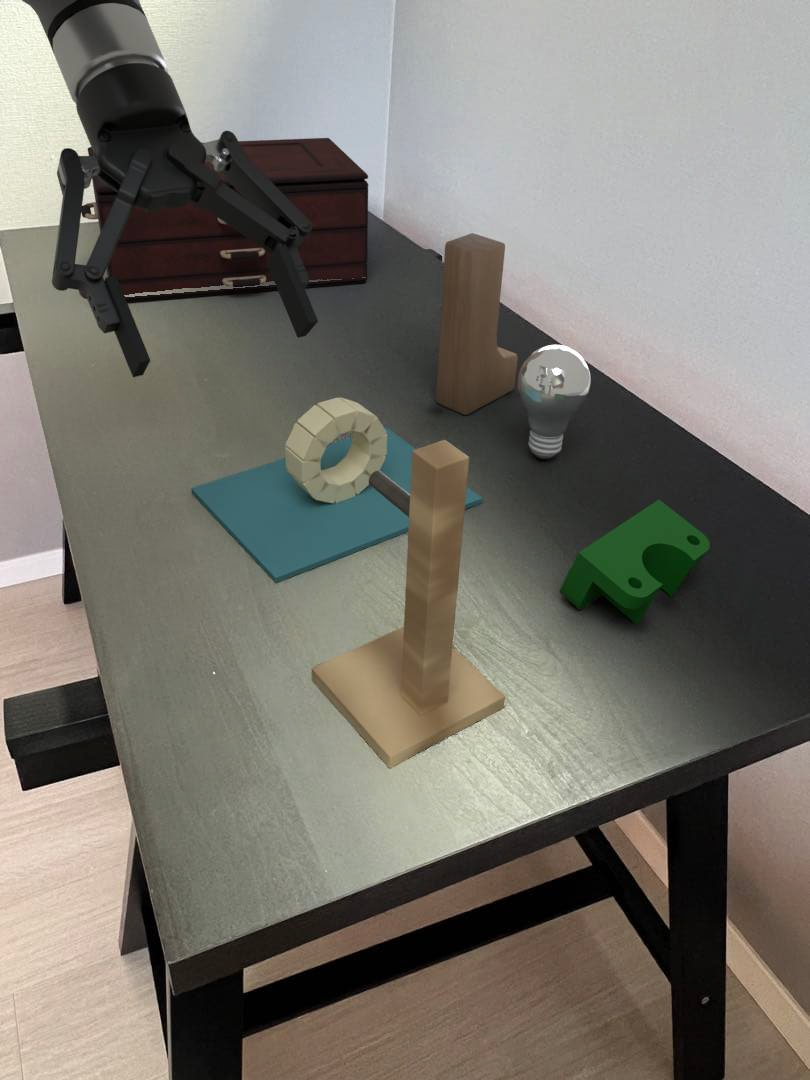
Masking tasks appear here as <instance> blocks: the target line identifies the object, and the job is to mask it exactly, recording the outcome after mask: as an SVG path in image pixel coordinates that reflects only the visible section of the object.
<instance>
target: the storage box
mask: <svg viewBox="0 0 810 1080" xmlns="http://www.w3.org/2000/svg"><path fill="white" fill-rule="evenodd" d="M238 142H239V143H240V145H241V147H242V149H243V151H244V153H245V155H246V156H247V157H248V158H249V159H250V160H251V161H252V162H253V163H254V164H255V165H256V166H257V167H258V168H259V169H260V170H261V171H262V172H263V173H264V174H265V176H266V177H267V178H268V179H269V180H270V181H271V182H272V183H273V184H274V185H275V186H276V187H277V188H278V189H279V190H280V191H281V192H282V193H283V194H284V195H285V196H286V197H287V198H288V199H289V200H290V201H291V202H292V203H293V204H294V205H295V206H296V207H297V208H298V210H299V211H300V212H301V213H302V214H303V215H304V216H305V217H306V218H307V219H308V220H309V221H310V222H311V224H312V230H311V231H310V233H309V234H308V236H307V237H306V239H305V240H304V242H303V243H302V244H301V246H300V247H297V249H298V252H299V254H300V256H301V259H302V261H303V264H304V266H305V268H306V271H307V273H308V276H309V280H317V279H318V280H319V279H320V280H321V279H322V280H327V279H329V280H330V279H342V280H330V281H318V282H309V284H308V285H307V287H306V288H307V289H308V288H309V289H311V288H320V287H334V286H344V285H346V286H347V285H358V284H365V283H367V280H368V237H369V233H368V231H369V229H368V227H369V183H368V181H367V180H368V179H369V175H368V174H367V172H366V171H364V170H363V169H362V168H361V167H360V166H359V165H358V164H357V163H356V162H355V161H354V160H353V158H351V157H350V156H349V155H348V154H347V153H346V152H345V151H343V150H342V148H340V147H339V146H338V145H337V144H336V143H335V142H334V141H333V140H332V139H330V138H329V137H312V138H311V137H310V138H286V139H262V140H261V139H259V140H238ZM87 154H88V156H95V153H94V151H93V149H92V147H91V146H89V147H88V148H87ZM204 165H205V166H207V167H208V168H209V169H211V170H212V171H214V172H215V173H217V174H218V175H219V176H220V177H221V179H222V182H223V183H224V184H225V185H227V186H228V187H230V188H231V189H232V190H234V191H235V192H237V193H238V194H240V193H239V192H238V191H237V190H236V189H235V188H234V187H233V186H232V185H231V184H230V182H229V181H228V180H227V179H226V177H225V176H224V175H223V173H222V171H221V172H217V171H215V169H214V167H215V166H214V165H213V164H211V163H210V162H205V163H204ZM91 182H92V187H93V194H94V195H93V196H94V200H95V201H92V202H87V203H85V204H82V210H81V217H83V218H84V219H88V220H98V226H99V234H100V233H101V230H102V228H103V226H104V224H105V221H106V219H107V217H108V214H109V212H110V210H111V207H112V205H113V203H114V201H115V198H116V196H117V192H116V191H115V190H113V189H112V188H111V187H110V186H108V185H107V184H106V183H104V182H103V181H102V180H100V179H99V177H98V176H97V175H95V176H93V177H92V180H91ZM197 188H198V189H200V190H201V191H204V189H205V187H204V186H203V185H202V184H201V183H200V182H199V184H198V187H197ZM240 195H241V194H240ZM241 196H242V195H241ZM242 197H243V196H242ZM92 208H93V212H94V214H93V213H92V210H91V209H92ZM271 255H272V254H270V253H269V252H267V251H266V250H265V249H263V248H262V247H260V246H259V245H257V244H256V243H254V242H253V241H251V240H250V239H248V238H247V237H246V236H244V235H243V234H241V233H240V232H238V231H237V230H235V229H234V228H232V227H231V226H229V225H228V224H227V223H225V222H224V221H222V220H221V219H219V218H218V217H216V216H215V215H213V214H212V213H210V212H209V211H201V210H200V209H198V208H197V207H195V206H194V205H192V204H191V203H189V202H188V203H186V205H185V207H180V208H169V207H164V208H162V209H159V210H157V211H153V212H146V210H145V209H141V208H138V207H136V206H135V205H134V206H133V208H132V210H131V213H130V215H129V218H128V220H127V222H126V224H125V226H124V229H123V231H122V233H121V236H120V238H119V240H118V243H117V245H116V247H115V250H114V252H113V254H112V257H111V259H110V261H109V264H108V266H107V269H106V275H107V277H111V276H116V277H117V279H118V281H119V284H120V286H121V289H122V291H123V294H124V295H129V294H135V293H143V292H157V291H165V290H173V289H182V288H201V287H210V286H220V285H221V286H222V285H226V286H233V287H243V286H255V285H260V284H263V283H264V282H269V281H270V282H271V281H274V280H273V277H272V275H271V272H270V270H269V267H268V265H267V261H268V260H269V258H270V257H271ZM362 277H366V278H362ZM352 278H354V279H352ZM306 288H305V289H306ZM273 291H278V289H277V287H276V285H269V286H257V287H245V288H233V289H220V290H208V291H196V292H184V293H172V294H160V295H147V296H135V297H125V299H126V301H127V304H128V303H137V302H138V303H139V302H150V301H163V300H174V299H177V300H178V299H188V298H199V297H211V296H213V297H214V296H223V295H236V294H246V293H247V294H248V293H261V292H262V293H263V292H273Z"/></svg>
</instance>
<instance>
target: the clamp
mask: <svg viewBox="0 0 810 1080" xmlns="http://www.w3.org/2000/svg"><path fill="white" fill-rule="evenodd" d="M710 544H711V543H710V541H709V538H707V536H706V535H705V534H704V533H703V532H701V531H700V530H699V529H697V528H696V527H695V526H693V524H692V523H690V522H688V521H687V520H686V519H685V518H683V517H682V516H681V515H680V514H678V513H677V512H676V511H675V510H673V509H672V508H670V507H669V506H668V505H666V504H665V503H664V502H663V501H662V500H660V499H657V500H656V501H654V502H653V503H651V504H650V505H648V506H647V507H645V508H644V509H642V510H641V511H639V512H637V513H636V514H635V515H633V516H632V517H630V518H629V519H627V520H625V521H624V522H622V523H621V524H619V525H618V526H616V527H615V528H614V529H612V530H610V531H609V532H607V533H606V534H604V535H603V536H601V537H600V538H598V539H597V540H595V541H594V542H592V543H591V544H589V545H587V547H586V546H585V548H583V549H582V550H580V551H579V552H578V553H577V555H576V557H575V559H574V561H573V563H572V565H571V567H570V569H569V571H568V572H567V575H566V577H565V578H564V580H563V583H562V584H561V586H560V589H559V593H560V594H561V595H562V596H563V597H564V598H566V600H568V601H569V602H570V603H572V605H574V606H575V607H576V608H577V609H578V610H579V611H580V610H583V609H585V608H586V607H588V605H590V604H591V603H593V602H594V601H596V600H597V599H599V598H601V596H603V597H604V598H605V599H606V600H607V601H609V602H610V603H611V604H612V605H613V606H614V607H616V608H617V609H618V610H619V611H620V612H621V613H622V614H624V615H625V616H626V617H627V618H628V619H630V620H631V621H632V622H633V623H634V624H635V625H637V624H638V623H640V622H641V620H642V619H643V618H644V615H645V614H646V613H647V611H648V610H649V607H650V606H651V604H652V603H653V601H654V600H655V598H656V596H657V595H658V593H659V592H660V589H662V590H663V591H664V592H665V593H666V594H668V596H669V597H670V598H672V597H673V596H674V595H675V594H676V593H677V591H678V589H679V588H680V586H681V585H682V583H683V582H684V580H685V579H686V577H687V576H688V574H689V572H690V571H691V570H692V569H693V568H694V567H696V566H697V565H699V563H701V562H702V560H703V559H704V557H705V555H706V554H707V553H708V551H709V549H710V546H711V545H710Z"/></svg>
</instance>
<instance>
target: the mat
mask: <svg viewBox="0 0 810 1080" xmlns="http://www.w3.org/2000/svg"><path fill="white" fill-rule="evenodd" d="M383 427H384V429H385V431H386V434H387V455H385V457H386V458H385V460H384V462H383V464H382V466H381V469H380V471H382V472H383V473H385V474H386V475H387V476H388V477H390V478H391V479H392V480H393V481H395V482H396V483H397V484H398V485H400V486H401V487H402V488H403V489H405V490H406V491H407V492H408V493H410V488H411V467H412V451H413V450H415V449H416V447H414V446H413V445H411V444H410V443H409V442H407V441H406V440H404V439H403V438H402V437H400V436H399V435H398V434H396V433H395V432H394V431H393V430H391V429H389V428H388V427H387V426H383ZM351 445H352V436H351V437H347V438H345V439H342V440H341V439H340V440H337V441H334V442H333V443H332V442H330V443H329V444H328V445H327V447H326V449H325V451H324V453H323V455H322V458H321V460H320V465H321V470H325V469H328V468H331V467H334V466H336V465H337V464H338V463H339V462H340V461H341V460H343V459H344V458H345V457H346V455H347V453H348V451H349V449H350V447H351ZM190 490H191V494H192V495H193V496H194V497H195V498H196V499H197V501H198V502H199V503H200V504H201V505H202V506H203V507H204V509H206V510H207V511H208V512H209V513H210V514H211V515H212V516H213V517H214V518H215V519H216V521H217V522H218V523H219V524H220V525H221V526H222V527H223V529H225V531H227V532H228V533H229V534H230V535H231V537H232V538H233V539H234V540H235V541H236V543H238V545H240V546H241V547H242V549H244V551H245V552H246V553H247V554H248V555H249V556H250V557H251V558H252V559H253V560H254V561H255V562H256V564H257V565H259V567H260V568H261V569H262V570H263V571H264V572H265V573H266V575H268V576H269V577H270V578H271V579H272V581H274V583H276V584H277V583H280V582H282V581H285V580H288V579H289V578H294V577H296V576H298V575H300V574H303V573H305V572H308V571H310V570H314V569H315V568H318V567H321V566H323V565H326V564H329V563H331V562H334V561H337V560H338V559H339V560H340V559H341V558H344V557H346V556H348V555H349V556H350V555H352V554H354V553H357V552H359V551H362V550H364V549H367V548H370V547H372V546H375V545H378V544H380V543H383V542H385V541H388V540H391V539H393V538H395V537H396V538H397V537H398V536H401V535H403V534H406V533H408V530H409V517H408V516H406V515H405V514H404V513H403V512H402V511H400V510H399V509H398V508H397V507H396V506H394V505H393V504H392V503H391V502H390V501H388V500H387V499H386V498H385V497H383V496H382V495H381V494H380V493H379V492H377V491H376V490H375V489H374V488H373V487H371V486H370V485H368V486H367V487H366V488H365V489H364V490H363V491H361V492H360V493H359V494H358V495H357V494H356V496H355V497H353V498H350V499H347V500H344V501H341V502H338V503H335V502H334V504H333V503H328V502H323V501H319V500H315V499H314V498H313V497H311V496H310V495H309V494H308V493H307V492H306V491H305V490H304V489H303V488H301V487H300V486H299V485H298V484H297V483H296V481H295V480H294V479H293V478H292V476H291V475H290V474H289V472H288V471H287V468H286V457H284V458H282V459H278V460H275V461H271V462H269V463H265V464H263V465H259V466H256V467H252V468H250V469H247V470H243V471H240V472H237V473H233V474H231V475H228V476H224V477H221V478H218V479H215V480H212V481H209V482H205V483H203V484H199V485H196V486H193V487H190ZM482 503H483V497H481V496H480V495H479V494H477V493H476V492H475V491H473V489H471V488H470V487H468V486H467V489H466V500H465V510H467V509H470V508H473V507H476V506H478V505H481V504H482Z"/></svg>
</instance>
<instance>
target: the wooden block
mask: <svg viewBox="0 0 810 1080" xmlns="http://www.w3.org/2000/svg"><path fill="white" fill-rule="evenodd" d="M505 253H506V244H505V243H504V242H502V241H499V240H495V239H492V238H489V237H486V236H483V235H480V234H477V233H474V232H473V233H469V234H466V235H463V236H459V237H457V238H454V239H451V240H449V241H446V242H445V245H444V259H443V273H442V275H443V276H442V291H441V305H440V306H441V307H440V308H441V309H440V322H439V324H440V326H439V339H438V340H439V341H438V356H437V373H436V374H437V375H436V389H435V402H436V403H437V404H438V405H441V406H443V407H445V408H447V409H449V410H452V411H454V412H456V413H459V414H461V415H464V416H468V415H469V414H472V413H473V412H476V411H477V410H479V409H481V408H483V407H485V406H486V405H488V404H490V403H492V402H494V401H495V400H497V399H500V398H501V397H503V396H505V395H506V394H509V393H510V392H512V391H514V389H515V385H516V376H517V368H518V367H517V366H518V359H519V355H518V354H517V353H516V352H512V351H510V350H507V349H505V348H502V347H500V346H498V338H497V333H498V326H499V325H498V324H499V315H500V304H501V295H502V294H501V293H502V285H503V273H504V264H505Z"/></svg>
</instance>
